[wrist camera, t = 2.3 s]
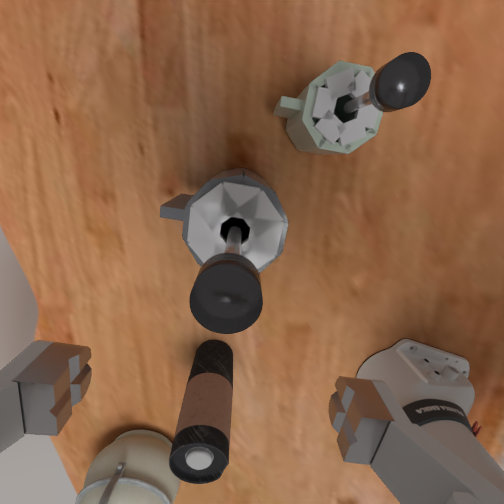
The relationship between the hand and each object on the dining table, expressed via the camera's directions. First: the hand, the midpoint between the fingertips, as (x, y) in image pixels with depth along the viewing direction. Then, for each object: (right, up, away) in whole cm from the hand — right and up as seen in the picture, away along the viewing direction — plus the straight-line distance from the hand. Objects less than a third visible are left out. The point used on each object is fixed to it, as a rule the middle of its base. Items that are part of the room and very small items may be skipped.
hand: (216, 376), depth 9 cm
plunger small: (+10, +18, +17) cm, 27 cm away
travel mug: (-6, -16, +44) cm, 47 cm away
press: (-2, +12, +34) cm, 36 cm away
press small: (+9, +23, +31) cm, 40 cm away
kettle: (-23, -42, +53) cm, 71 cm away
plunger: (-1, +6, +17) cm, 18 cm away
